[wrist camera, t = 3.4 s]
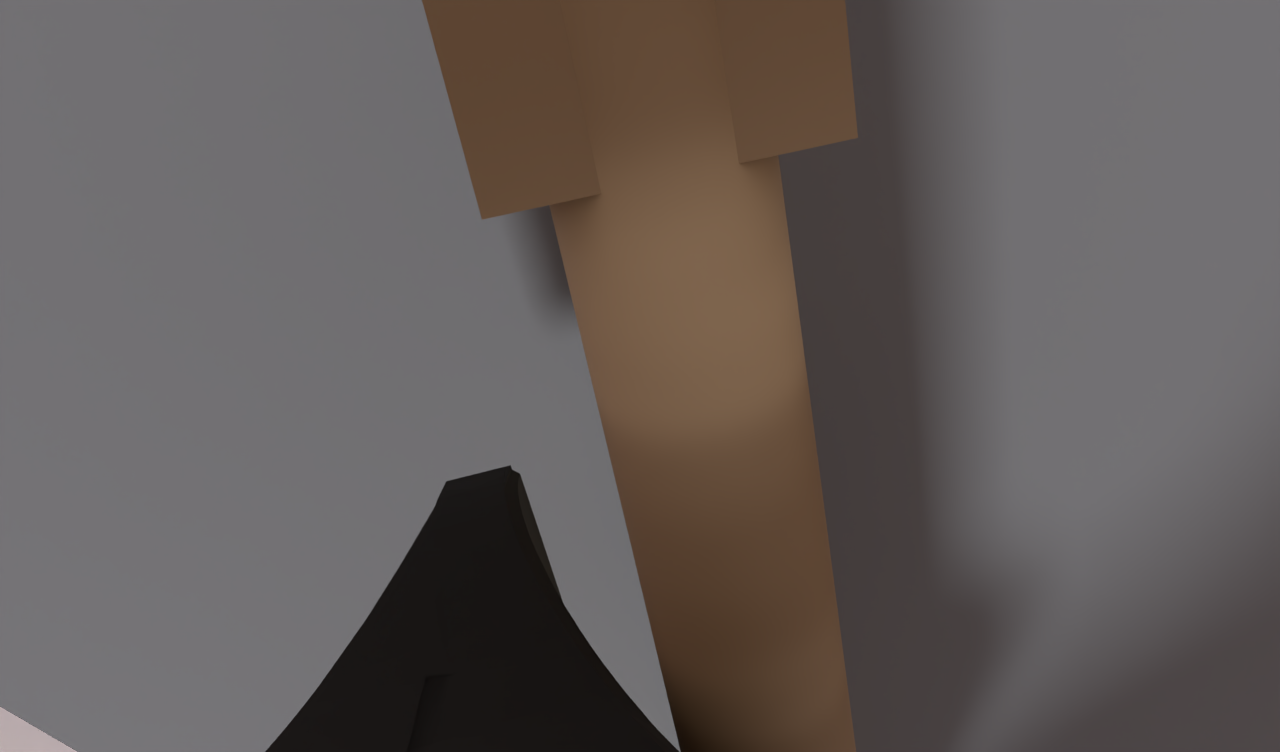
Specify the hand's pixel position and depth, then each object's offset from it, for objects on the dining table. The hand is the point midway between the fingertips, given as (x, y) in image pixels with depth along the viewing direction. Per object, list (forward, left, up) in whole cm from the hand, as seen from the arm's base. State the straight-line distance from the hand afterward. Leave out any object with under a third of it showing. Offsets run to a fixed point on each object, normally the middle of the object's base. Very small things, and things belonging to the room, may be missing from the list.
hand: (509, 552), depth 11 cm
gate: (-2, -1, -2) cm, 3 cm away
